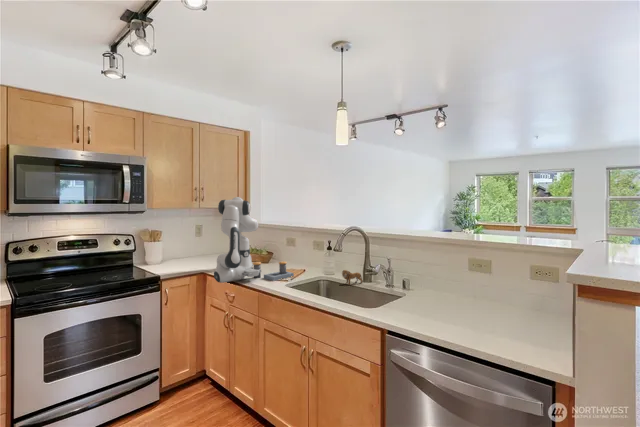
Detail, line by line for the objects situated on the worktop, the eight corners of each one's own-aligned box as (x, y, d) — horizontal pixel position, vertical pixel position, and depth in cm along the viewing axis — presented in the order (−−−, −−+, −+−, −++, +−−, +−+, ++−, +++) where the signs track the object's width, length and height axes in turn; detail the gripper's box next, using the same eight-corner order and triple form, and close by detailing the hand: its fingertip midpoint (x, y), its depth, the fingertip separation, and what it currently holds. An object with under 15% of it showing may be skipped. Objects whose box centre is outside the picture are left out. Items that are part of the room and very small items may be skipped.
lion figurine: (344, 285, 202) (344, 270, 201) (340, 283, 207) (340, 269, 206) (365, 283, 207) (365, 269, 207) (361, 281, 212) (361, 267, 212)
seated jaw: (277, 276, 227) (276, 262, 226) (283, 275, 231) (283, 261, 230) (282, 278, 223) (282, 263, 222) (288, 276, 227) (288, 262, 226)
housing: (263, 278, 222) (263, 274, 222) (283, 274, 234) (283, 270, 234) (273, 280, 214) (273, 277, 214) (293, 276, 226) (293, 273, 226)
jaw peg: (251, 277, 225) (251, 262, 225) (258, 276, 229) (258, 261, 229) (256, 278, 221) (255, 263, 221) (263, 277, 225) (262, 262, 225)
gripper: (247, 270, 207) (265, 267, 217) (230, 265, 222) (248, 263, 232) (247, 280, 208) (265, 276, 217) (230, 275, 222) (248, 271, 232)
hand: (256, 269), depth 225 cm, fingers open, 8 cm apart
